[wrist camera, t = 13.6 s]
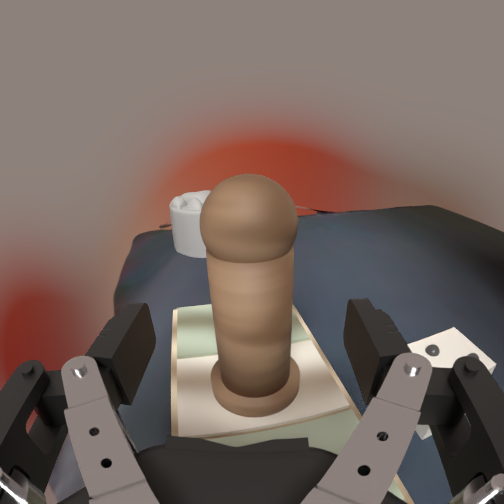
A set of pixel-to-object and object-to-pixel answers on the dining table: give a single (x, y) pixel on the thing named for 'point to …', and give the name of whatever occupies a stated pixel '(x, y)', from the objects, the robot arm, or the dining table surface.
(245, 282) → the pawn
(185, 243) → the lumpy-topped squat cylinder
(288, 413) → the game board
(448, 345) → the die
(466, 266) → the dining table surface
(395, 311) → the dining table surface
